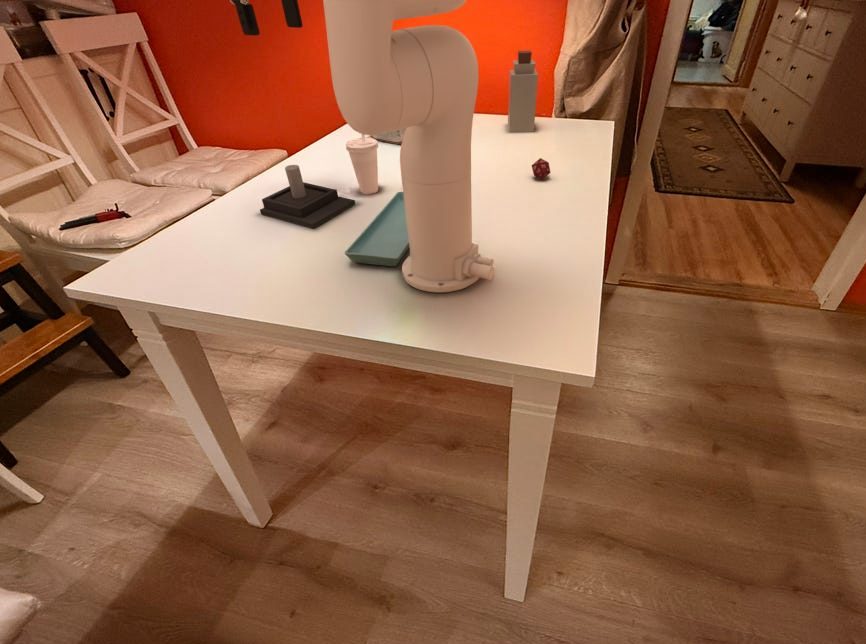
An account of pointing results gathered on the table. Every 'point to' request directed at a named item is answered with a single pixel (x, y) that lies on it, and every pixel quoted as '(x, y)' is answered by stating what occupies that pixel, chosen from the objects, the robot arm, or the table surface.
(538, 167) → the dice
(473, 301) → the table surface
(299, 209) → the base pad
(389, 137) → the tin
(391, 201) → the teal serving tray
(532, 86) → the perfume bottle
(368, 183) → the smoothie
